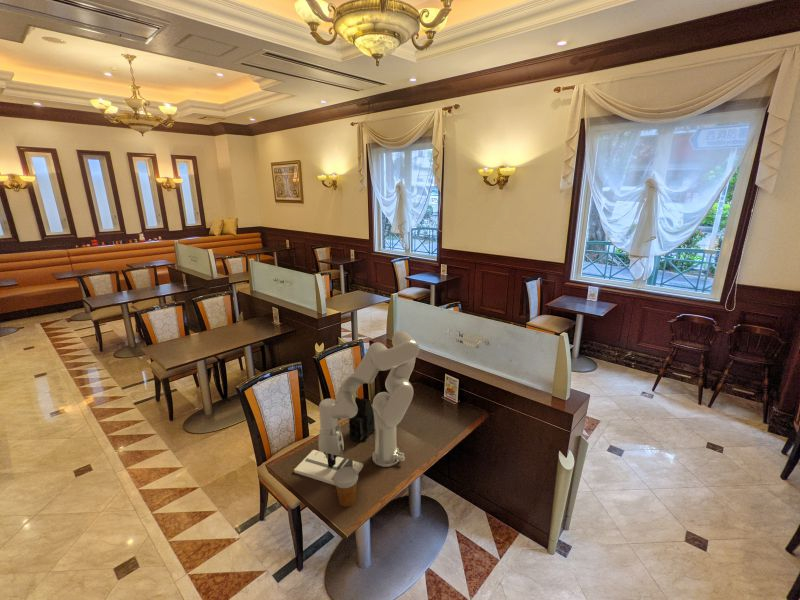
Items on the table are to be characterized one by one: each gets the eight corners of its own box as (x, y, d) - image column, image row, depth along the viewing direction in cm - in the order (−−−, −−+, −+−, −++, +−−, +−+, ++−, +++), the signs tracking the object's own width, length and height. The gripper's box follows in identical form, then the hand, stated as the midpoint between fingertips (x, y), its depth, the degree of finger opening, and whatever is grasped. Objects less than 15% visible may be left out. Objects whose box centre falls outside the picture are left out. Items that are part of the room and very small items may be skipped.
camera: (345, 440, 179) (342, 404, 174) (360, 425, 191) (359, 391, 185) (362, 446, 175) (360, 409, 169) (377, 431, 186) (376, 395, 181)
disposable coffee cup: (347, 487, 150) (346, 462, 147) (364, 499, 144) (363, 473, 141) (329, 502, 143) (327, 476, 140) (346, 514, 137) (344, 488, 134)
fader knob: (352, 467, 159) (352, 459, 158) (345, 476, 153) (345, 469, 152) (344, 464, 160) (344, 457, 159) (337, 474, 155) (336, 466, 154)
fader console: (363, 466, 162) (363, 463, 161) (347, 489, 149) (346, 485, 149) (313, 452, 171) (313, 449, 171) (294, 472, 159) (294, 469, 158)
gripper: (349, 426, 154) (351, 464, 159) (319, 419, 160) (321, 455, 165) (340, 437, 148) (342, 475, 153) (309, 429, 153) (312, 466, 158)
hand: (331, 465), depth 159 cm, fingers closed
